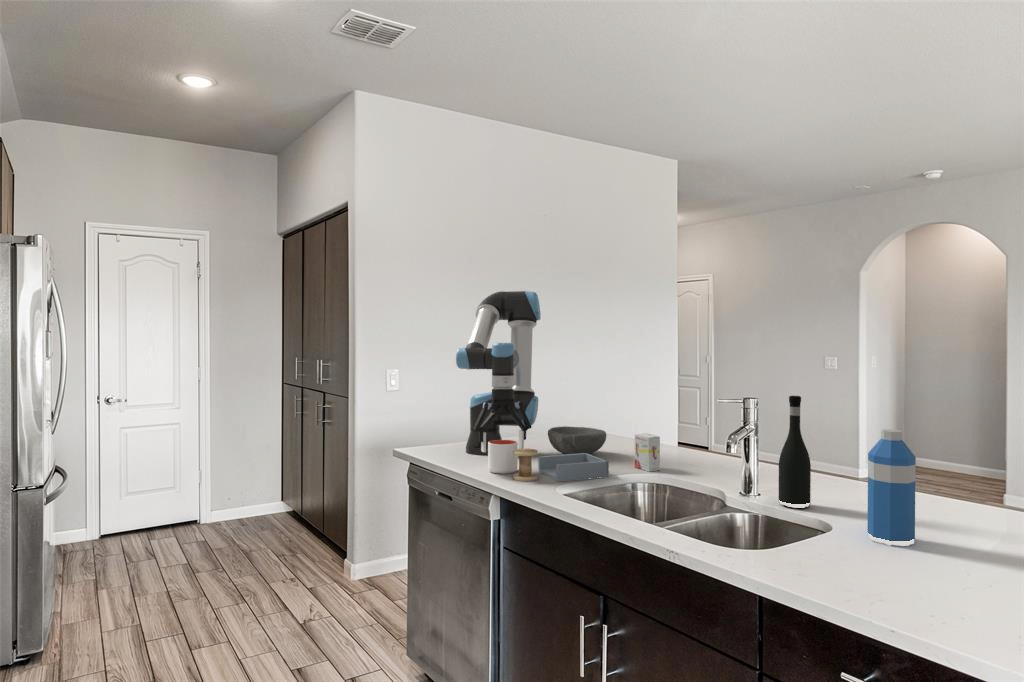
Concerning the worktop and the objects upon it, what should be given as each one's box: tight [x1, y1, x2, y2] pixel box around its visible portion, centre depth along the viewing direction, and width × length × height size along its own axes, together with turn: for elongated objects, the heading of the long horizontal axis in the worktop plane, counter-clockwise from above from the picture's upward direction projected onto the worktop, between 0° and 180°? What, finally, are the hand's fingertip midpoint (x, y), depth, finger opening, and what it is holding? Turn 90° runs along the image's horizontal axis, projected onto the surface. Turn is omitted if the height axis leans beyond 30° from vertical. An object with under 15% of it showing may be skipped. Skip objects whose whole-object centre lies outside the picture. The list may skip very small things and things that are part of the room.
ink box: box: [634, 432, 661, 473], centre depth 228 cm, size 9×5×12 cm, turn 25°
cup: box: [487, 439, 519, 475], centre depth 223 cm, size 10×10×10 cm
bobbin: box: [512, 448, 539, 482], centre depth 212 cm, size 8×8×9 cm
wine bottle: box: [778, 395, 812, 504], centre depth 179 cm, size 8×8×30 cm
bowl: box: [547, 425, 607, 455], centre depth 253 cm, size 23×22×10 cm
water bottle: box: [867, 428, 917, 541], centre depth 149 cm, size 9×9×25 cm
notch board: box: [537, 453, 610, 483], centre depth 218 cm, size 16×18×5 cm
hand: (502, 450), depth 223 cm, fingers open, 13 cm apart
